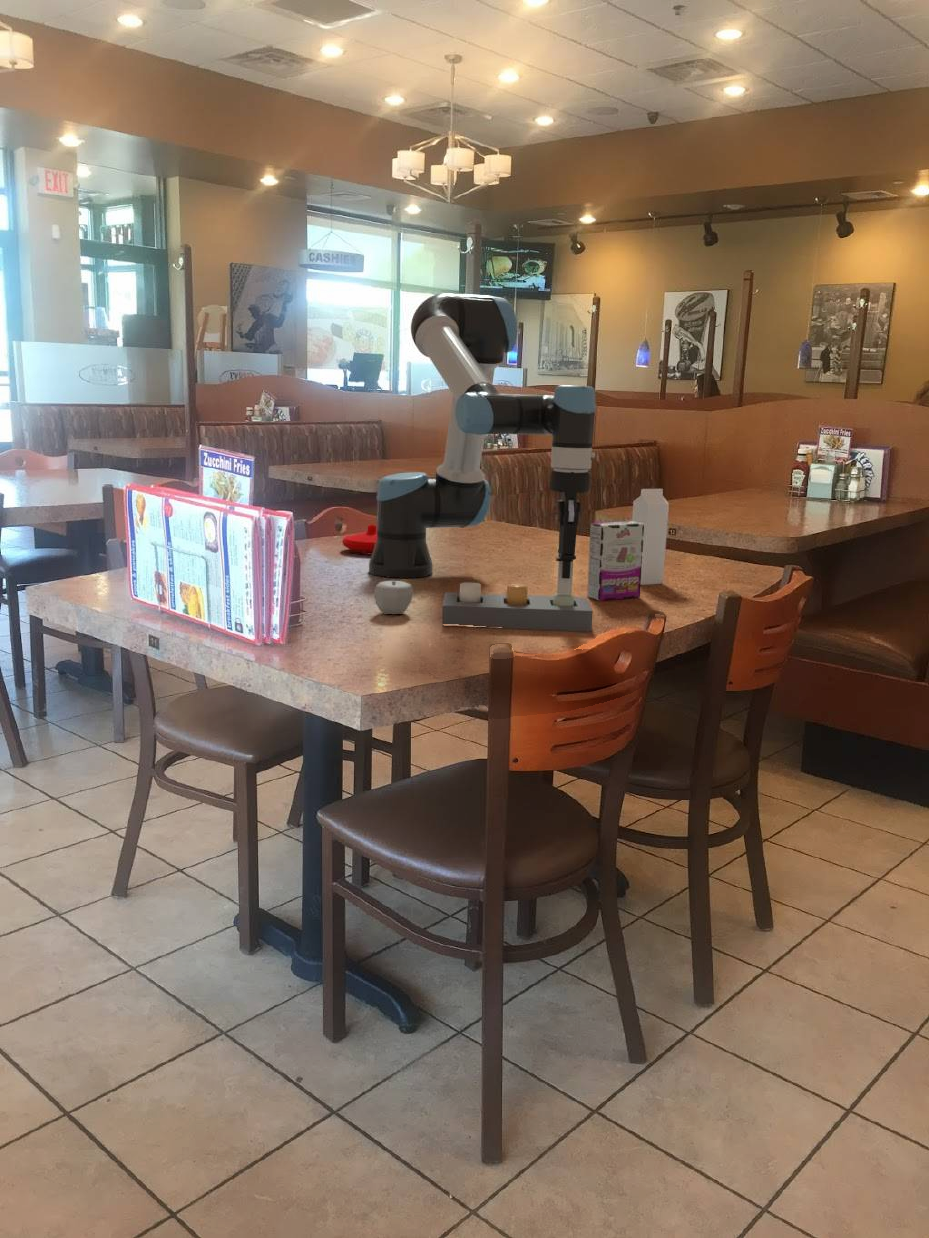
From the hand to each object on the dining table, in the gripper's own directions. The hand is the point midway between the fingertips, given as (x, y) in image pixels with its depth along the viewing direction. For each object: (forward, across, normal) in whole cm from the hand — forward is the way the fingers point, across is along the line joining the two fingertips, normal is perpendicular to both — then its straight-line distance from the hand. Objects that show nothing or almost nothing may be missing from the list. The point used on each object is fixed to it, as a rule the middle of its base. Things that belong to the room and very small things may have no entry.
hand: (564, 593), depth 192 cm
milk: (+6, +45, -23) cm, 51 cm away
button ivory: (+3, 0, +18) cm, 18 cm away
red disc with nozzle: (+6, +74, +45) cm, 87 cm away
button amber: (+3, 0, +9) cm, 10 cm away
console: (+6, 0, +9) cm, 11 cm away
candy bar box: (+6, +26, -13) cm, 30 cm away
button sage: (+5, 0, 0) cm, 5 cm away
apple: (+6, +3, +33) cm, 34 cm away
